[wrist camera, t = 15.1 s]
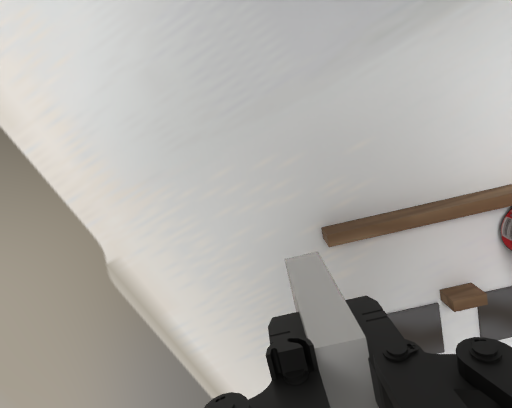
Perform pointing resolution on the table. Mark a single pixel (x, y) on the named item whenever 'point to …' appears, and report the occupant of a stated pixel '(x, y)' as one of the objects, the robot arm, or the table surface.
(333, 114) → the table surface
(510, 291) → the brown and grey pieces
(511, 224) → the soda can
